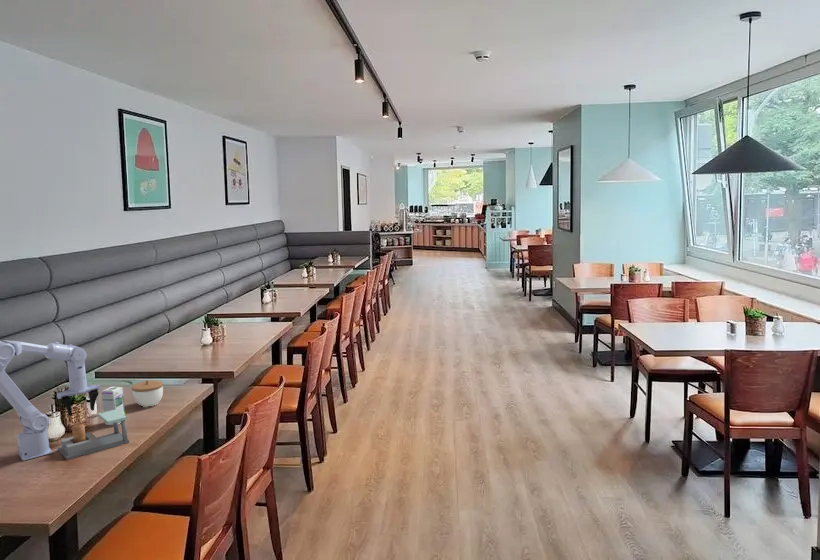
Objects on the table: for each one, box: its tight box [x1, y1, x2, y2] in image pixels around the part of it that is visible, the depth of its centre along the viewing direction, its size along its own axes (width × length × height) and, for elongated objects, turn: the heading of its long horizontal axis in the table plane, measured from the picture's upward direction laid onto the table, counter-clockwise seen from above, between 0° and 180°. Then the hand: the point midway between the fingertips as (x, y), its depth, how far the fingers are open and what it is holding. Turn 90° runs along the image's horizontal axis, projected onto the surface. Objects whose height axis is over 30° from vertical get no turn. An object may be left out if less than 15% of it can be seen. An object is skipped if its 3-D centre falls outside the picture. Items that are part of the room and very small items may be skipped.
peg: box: [71, 424, 86, 444], centre depth 225 cm, size 4×4×8 cm
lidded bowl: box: [131, 379, 164, 408], centre depth 273 cm, size 13×13×11 cm
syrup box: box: [100, 386, 127, 426], centre depth 252 cm, size 6×6×14 cm
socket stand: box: [57, 409, 130, 461], centre depth 228 cm, size 21×12×10 cm, turn 132°
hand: (81, 412), depth 235 cm, fingers open, 7 cm apart
